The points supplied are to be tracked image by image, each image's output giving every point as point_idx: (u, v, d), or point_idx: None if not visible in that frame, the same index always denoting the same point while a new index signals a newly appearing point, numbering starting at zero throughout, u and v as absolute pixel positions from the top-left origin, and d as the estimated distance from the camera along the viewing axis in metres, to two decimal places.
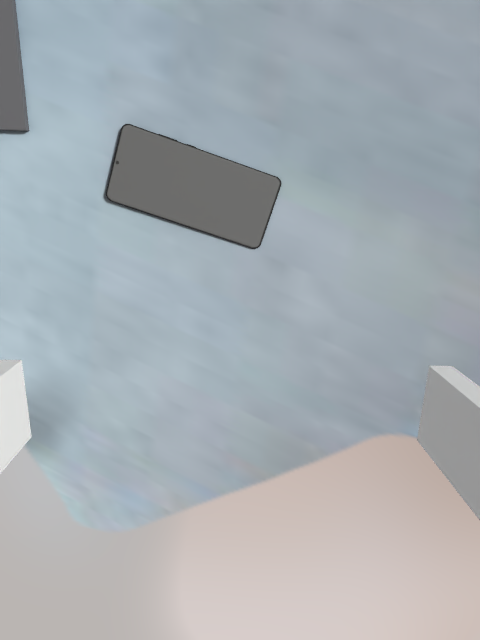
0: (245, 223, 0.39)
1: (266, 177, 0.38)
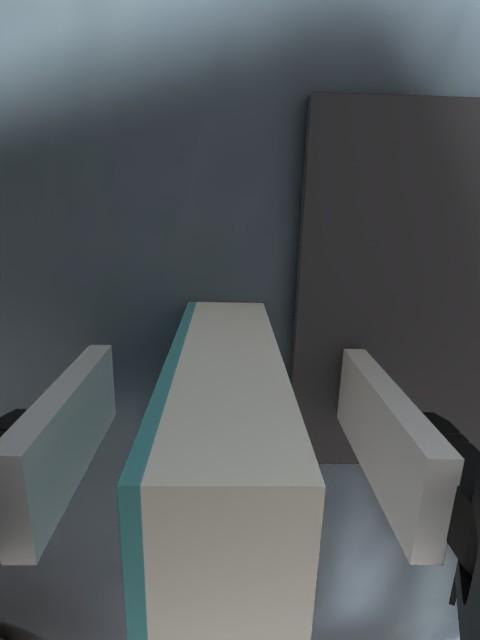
0: None
1: None
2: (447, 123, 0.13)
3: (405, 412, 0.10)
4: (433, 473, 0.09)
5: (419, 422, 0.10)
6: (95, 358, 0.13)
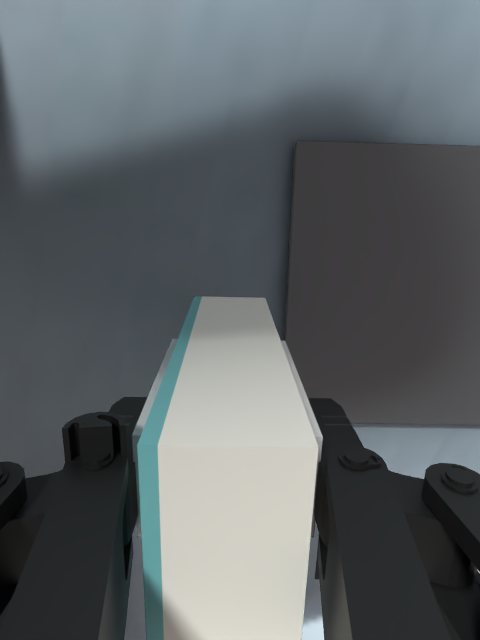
0: None
1: None
2: (397, 162, 0.18)
3: None
4: None
5: None
6: None
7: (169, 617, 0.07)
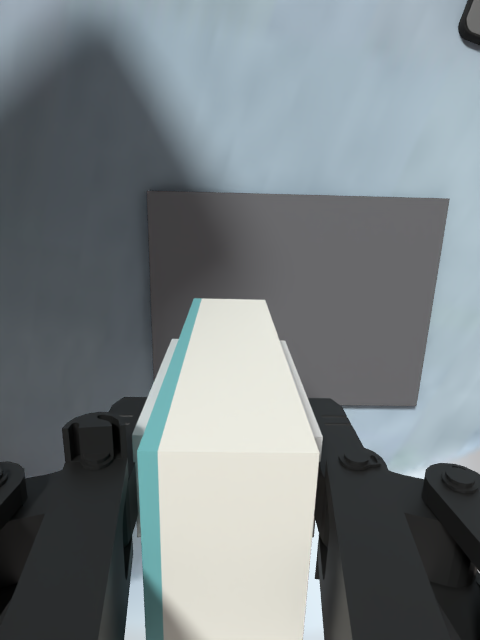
0: None
1: None
2: (224, 206, 0.23)
3: None
4: None
5: None
6: None
7: (169, 623, 0.07)
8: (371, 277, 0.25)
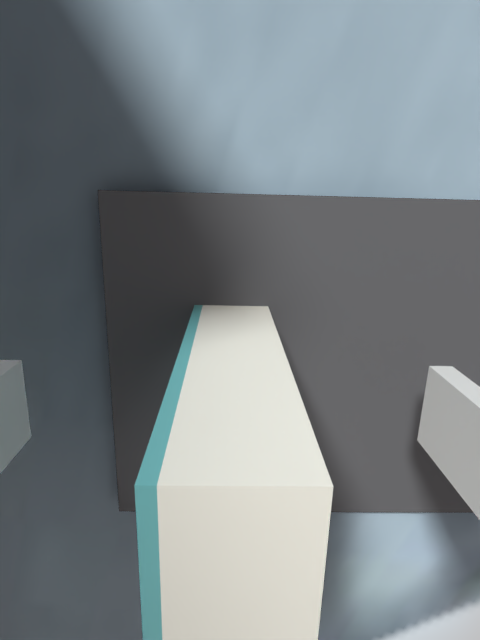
0: None
1: None
2: (225, 216, 0.14)
3: None
4: None
5: None
6: None
7: None
8: (456, 326, 0.16)
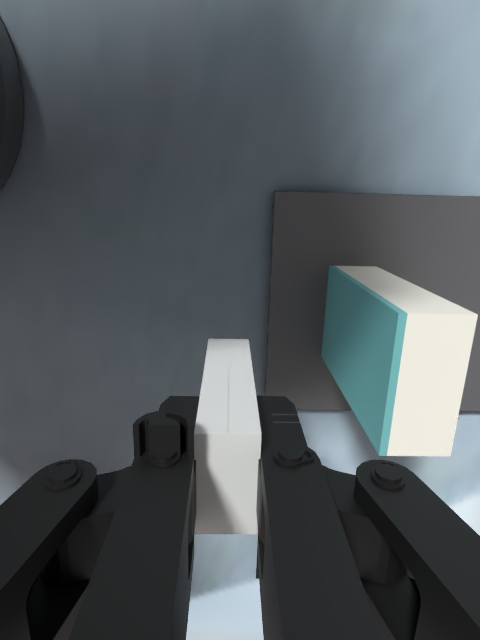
0: None
1: None
2: (353, 207, 0.23)
3: (240, 394, 0.11)
4: (234, 447, 0.09)
5: (246, 403, 0.11)
6: (223, 350, 0.14)
7: (397, 403, 0.15)
8: None
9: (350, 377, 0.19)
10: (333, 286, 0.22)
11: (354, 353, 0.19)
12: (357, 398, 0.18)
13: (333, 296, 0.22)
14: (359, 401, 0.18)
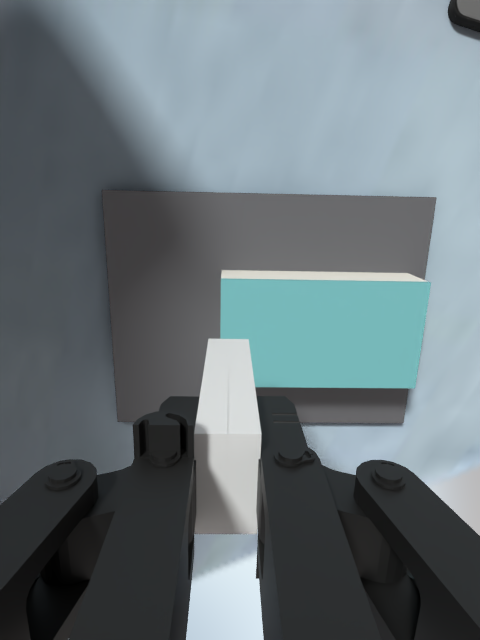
0: None
1: None
2: (188, 207, 0.21)
3: (240, 394, 0.11)
4: (234, 447, 0.09)
5: (246, 403, 0.11)
6: (223, 350, 0.14)
7: None
8: None
9: (335, 364, 0.21)
10: (249, 299, 0.20)
11: (341, 341, 0.21)
12: (359, 372, 0.21)
13: (252, 309, 0.20)
14: (364, 372, 0.21)
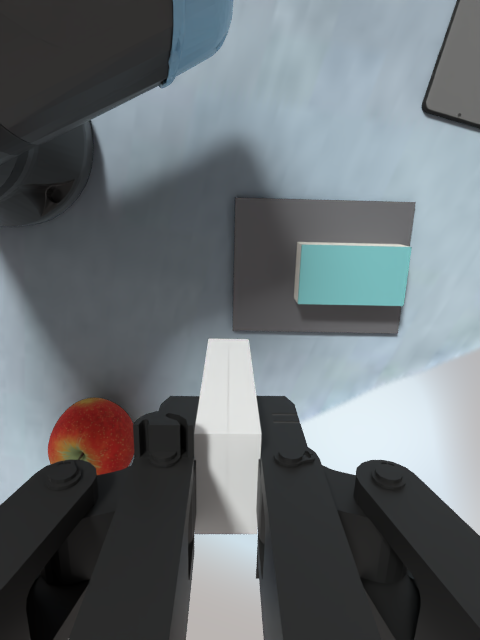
0: None
1: None
2: (281, 207, 0.39)
3: (240, 394, 0.11)
4: (234, 447, 0.09)
5: (246, 403, 0.11)
6: (223, 350, 0.14)
7: None
8: None
9: (360, 292, 0.39)
10: (316, 255, 0.38)
11: (364, 278, 0.38)
12: (373, 296, 0.39)
13: (317, 261, 0.38)
14: (376, 296, 0.39)
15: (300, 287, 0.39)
